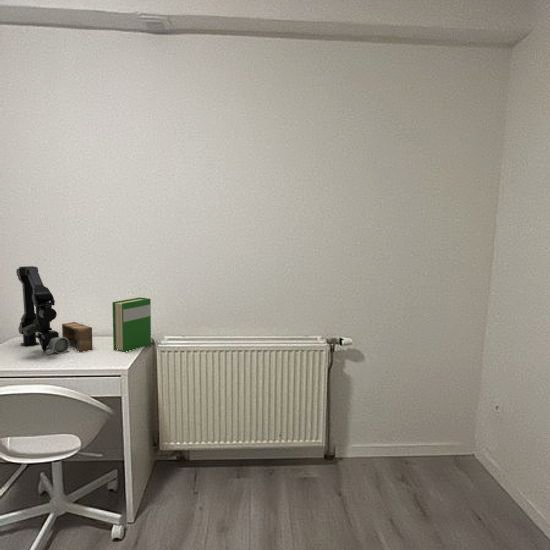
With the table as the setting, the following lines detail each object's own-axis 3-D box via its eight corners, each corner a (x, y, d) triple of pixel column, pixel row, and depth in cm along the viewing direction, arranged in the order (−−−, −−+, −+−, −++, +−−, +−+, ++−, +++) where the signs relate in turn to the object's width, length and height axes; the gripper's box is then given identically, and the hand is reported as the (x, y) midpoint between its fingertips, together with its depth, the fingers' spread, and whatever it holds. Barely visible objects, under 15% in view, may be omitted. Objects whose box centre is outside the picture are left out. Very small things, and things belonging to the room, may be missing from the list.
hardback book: (124, 352, 204) (123, 303, 202) (113, 350, 208) (112, 302, 205) (151, 344, 219) (150, 298, 217) (140, 342, 223) (140, 297, 220)
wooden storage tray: (62, 345, 214) (61, 323, 213) (74, 343, 219) (74, 321, 218) (80, 352, 203) (79, 329, 202) (92, 349, 208) (91, 327, 206)
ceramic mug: (61, 348, 208) (60, 333, 208) (70, 351, 204) (69, 336, 203) (39, 353, 200) (38, 338, 199) (48, 357, 195) (47, 340, 194)
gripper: (16, 317, 197) (17, 349, 198) (32, 323, 185) (33, 358, 186) (41, 313, 205) (42, 345, 207) (58, 319, 193) (59, 352, 195)
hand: (44, 350), depth 198 cm, fingers closed
